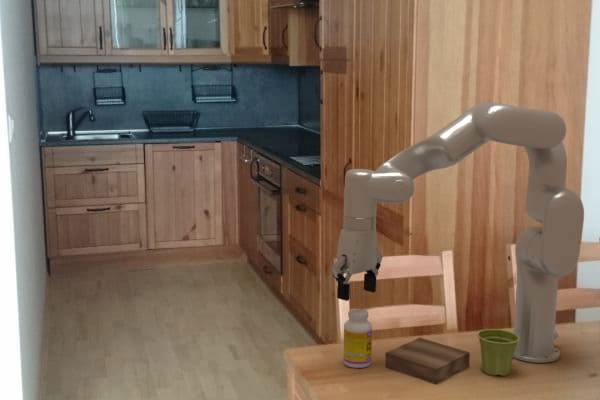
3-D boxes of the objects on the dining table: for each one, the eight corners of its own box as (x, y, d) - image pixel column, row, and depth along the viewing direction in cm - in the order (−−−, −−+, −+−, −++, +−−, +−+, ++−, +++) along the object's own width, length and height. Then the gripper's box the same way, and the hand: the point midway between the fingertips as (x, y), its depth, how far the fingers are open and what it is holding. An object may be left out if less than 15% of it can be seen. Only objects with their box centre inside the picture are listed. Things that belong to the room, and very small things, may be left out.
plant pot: (489, 360, 181) (491, 325, 180) (525, 371, 175) (527, 335, 173) (467, 371, 175) (469, 335, 173) (503, 383, 168) (505, 346, 167)
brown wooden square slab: (419, 351, 187) (419, 337, 186) (469, 366, 177) (469, 352, 177) (385, 366, 177) (385, 352, 176) (435, 384, 167) (436, 369, 167)
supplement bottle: (369, 370, 175) (370, 317, 173) (341, 367, 176) (342, 315, 174) (372, 359, 181) (373, 308, 179) (345, 357, 183) (346, 306, 180)
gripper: (370, 216, 181) (367, 284, 184) (322, 225, 169) (319, 299, 172) (395, 221, 176) (391, 291, 179) (347, 231, 164) (345, 306, 167)
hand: (356, 295), depth 176 cm, fingers open, 9 cm apart
